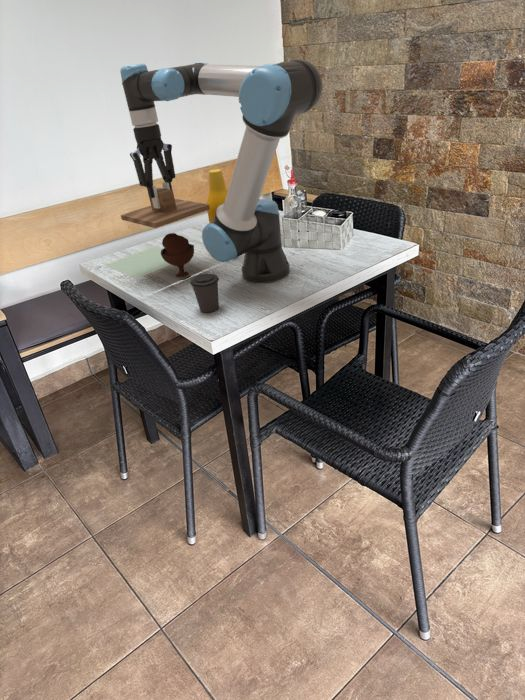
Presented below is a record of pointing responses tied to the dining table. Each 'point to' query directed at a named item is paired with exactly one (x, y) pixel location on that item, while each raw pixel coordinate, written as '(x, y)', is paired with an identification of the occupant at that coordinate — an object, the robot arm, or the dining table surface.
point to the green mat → (140, 263)
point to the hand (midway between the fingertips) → (163, 205)
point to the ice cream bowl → (177, 252)
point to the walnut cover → (164, 210)
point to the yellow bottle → (215, 192)
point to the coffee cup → (206, 292)
